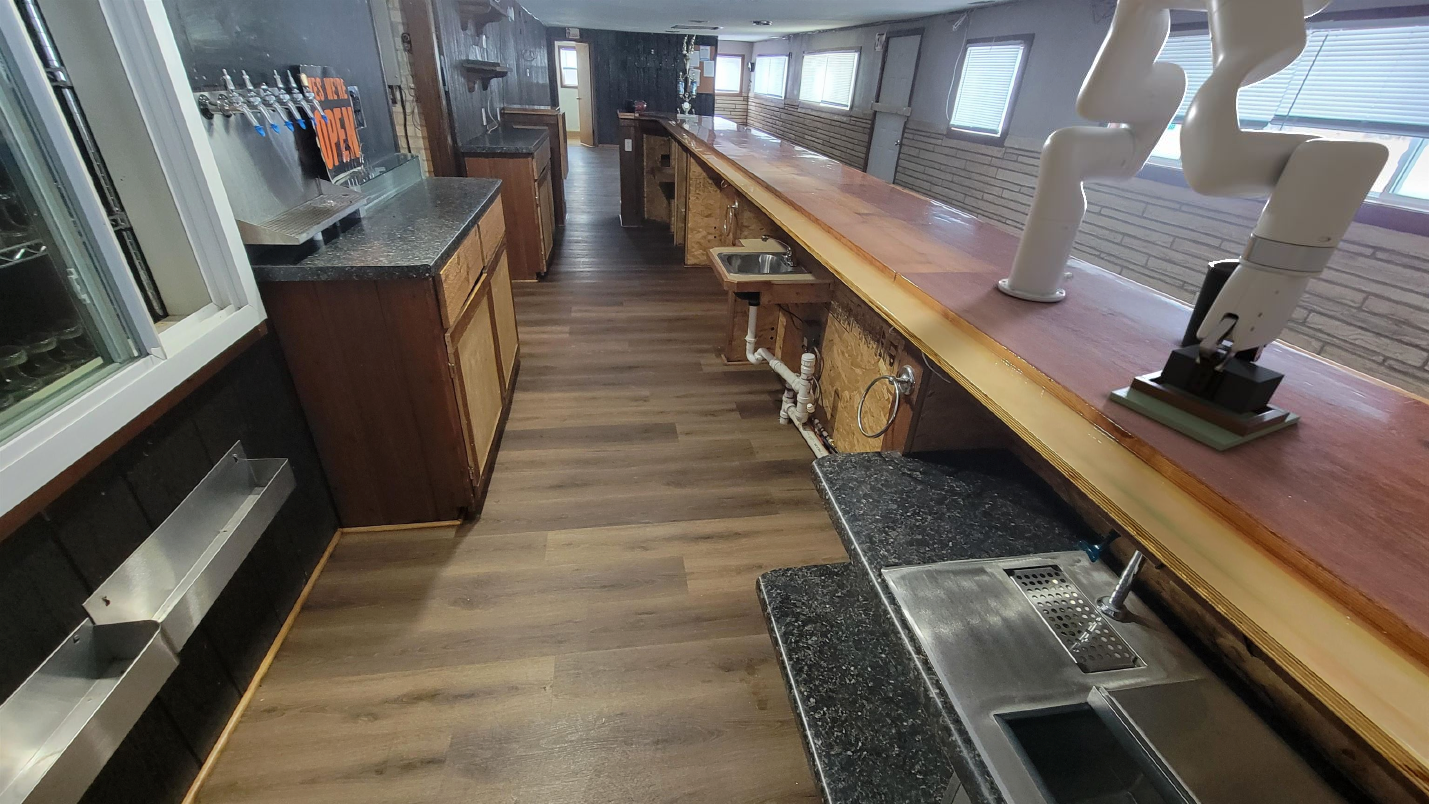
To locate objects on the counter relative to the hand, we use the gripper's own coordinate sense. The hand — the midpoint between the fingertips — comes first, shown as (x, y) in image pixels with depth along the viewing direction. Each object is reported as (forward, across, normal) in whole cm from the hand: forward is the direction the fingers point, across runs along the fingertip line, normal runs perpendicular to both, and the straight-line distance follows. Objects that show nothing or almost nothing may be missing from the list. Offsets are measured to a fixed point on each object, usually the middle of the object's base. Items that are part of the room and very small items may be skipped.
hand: (1211, 388), depth 75 cm
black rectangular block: (+1, 0, 0) cm, 1 cm away
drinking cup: (+3, -24, -13) cm, 28 cm away
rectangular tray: (+3, 0, 0) cm, 3 cm away
